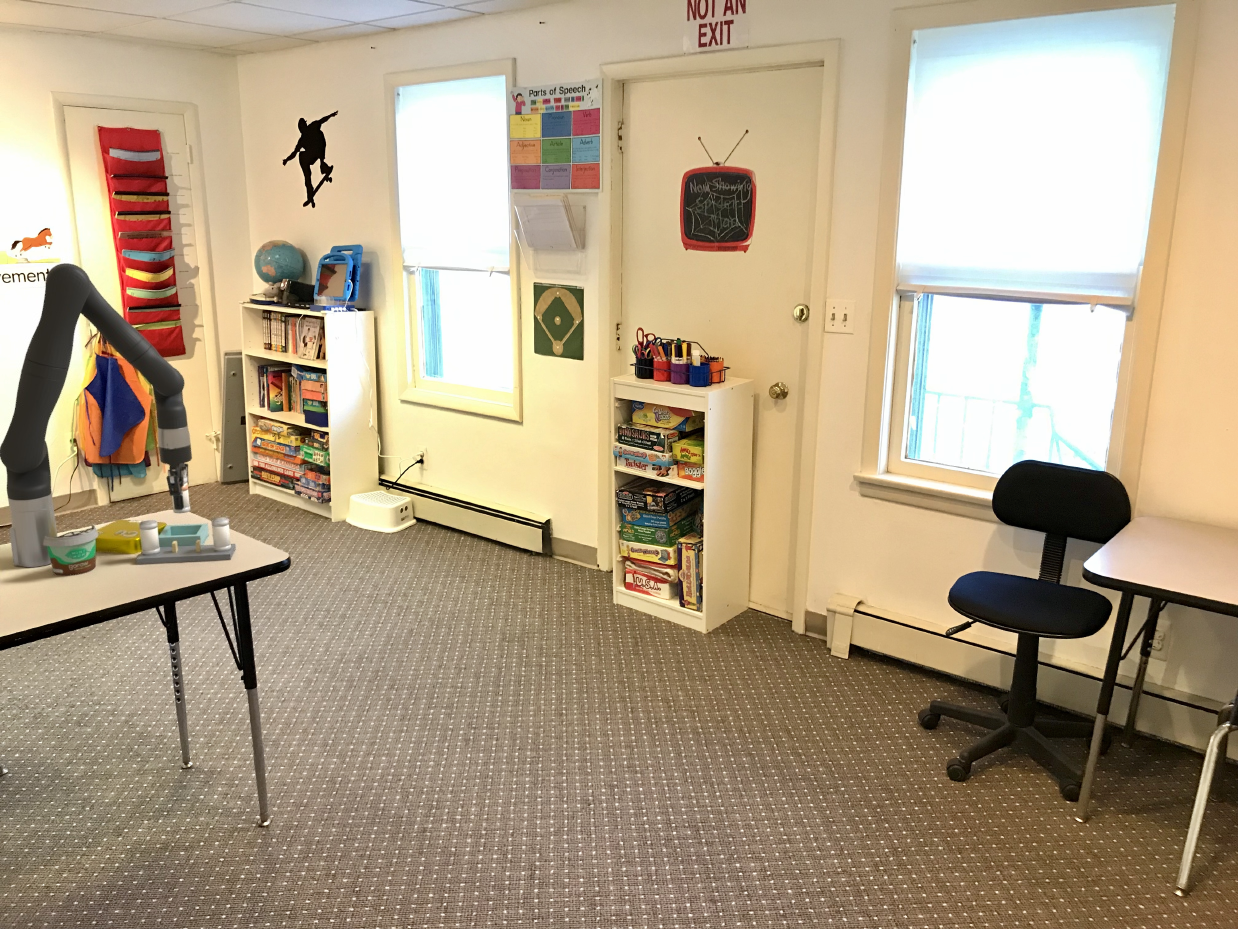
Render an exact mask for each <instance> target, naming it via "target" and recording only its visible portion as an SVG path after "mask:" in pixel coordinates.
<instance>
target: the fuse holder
mask: <svg viewBox="0 0 1238 929" xmlns="http://www.w3.org/2000/svg"><path fill="white" fill-rule="evenodd" d="M142 521H143V522H140V523H139V528H140V536H141V545H142V552H140V553H139V554H138V556H136V565H148V564H149V565H151V564H167V563H168V564H169V563H170V564H171V563H189V562H190V563H191V562H193V563H194V562H210V561H211V562H212V561H230V560H232V558H233V555H234V554H235V551H236V547H237V546H236V543H231V534H230V519H229V518H228V517H225V516H224V517H223V516H222V517H215V518H213V519H211V529H212V530H211V531H212V540H213V541H212V542H213V544H204V545H201V540H197V541H196V546H177V541H173V543H172V547H159V538H158V528H157V527H158V526H157V522H158V521H157V520H153V519H152V520H151V519H150V520H142Z"/></svg>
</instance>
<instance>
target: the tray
mask: <svg viewBox="0 0 1238 929" xmlns="http://www.w3.org/2000/svg"><path fill="white" fill-rule="evenodd" d="M209 536H210V533H209V523H191V524H190V523H188V524H186V523H185V524H168V525H166V527H165V528H164V529H163V531H162V532H161V533H160V535H159V536H158V538H159V547H172V543H173V541H177V546H196V541H197V540H201V545H205V543H206V541H207V540H208V538H209Z"/></svg>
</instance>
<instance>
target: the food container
mask: <svg viewBox="0 0 1238 929" xmlns="http://www.w3.org/2000/svg"><path fill="white" fill-rule="evenodd" d="M57 536H58V535H57ZM97 537H98V532H97V528H96V527H95V525H94V524H91V527H90V528H87V529H84V530H79V531H78V530H77V531H70V532H67V533H64V534H62V535H59V536H58V537H55V538H51V537H46V536H45V539H44V543H43V545H45V546H47V549H48V553H49V557H50V561H51V564H50V565H51V568H52V572H53V574H54V575H55V576H59V577H71V576H78V575H83V574H85V573H86V574H87V573H89V572H91V571H93V570H95V569H96V566H97V563H96V562H97V559H96V555H97V554H96V552H97V551H96V545H95V538H97Z"/></svg>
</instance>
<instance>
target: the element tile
mask: <svg viewBox="0 0 1238 929" xmlns="http://www.w3.org/2000/svg"><path fill="white" fill-rule="evenodd" d="M143 521H144V520H136V519H135V520H134V519H117V520H114V521H113V522H111V523H109V524H106V525H104V526H102V527H100V528H98V529H97V528H96V529H97V532H98V537H97V538H95V545H96V552H99V553H112V554H124V555H125V554H127V555H134V554H135V555H136V554H140V553H141V552H142V545H141V536H140V528H139V523H140V522H143ZM166 525H167V523H166V522H164V521H163V522H161V521H157V526H158V527H157V528H158V536H159V535H160V533H161V532H162V531H163V529H164V528H165V527H166Z"/></svg>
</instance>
